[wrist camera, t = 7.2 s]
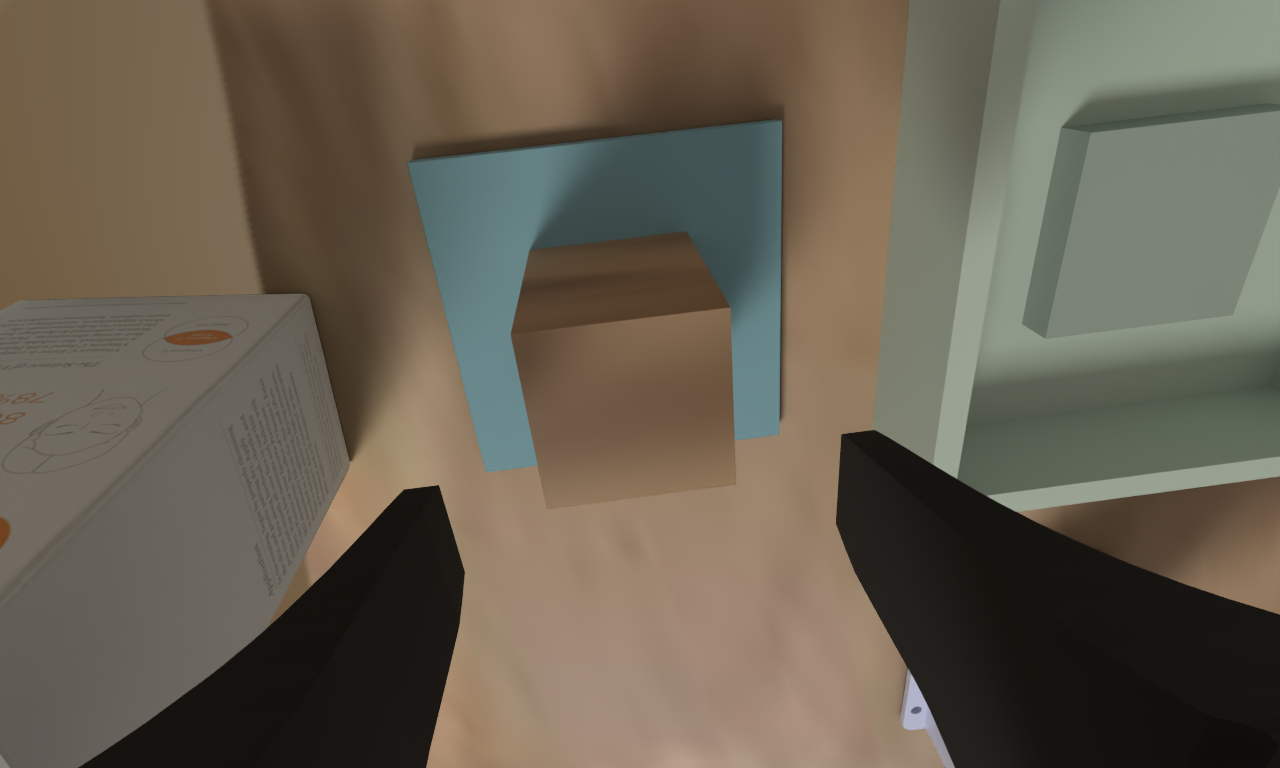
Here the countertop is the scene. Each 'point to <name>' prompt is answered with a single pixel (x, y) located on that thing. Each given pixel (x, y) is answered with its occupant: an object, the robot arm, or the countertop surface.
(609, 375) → the walnut block
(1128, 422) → the crate
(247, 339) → the small box
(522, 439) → the teal mat
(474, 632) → the countertop surface
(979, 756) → the robot arm
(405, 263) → the countertop surface
